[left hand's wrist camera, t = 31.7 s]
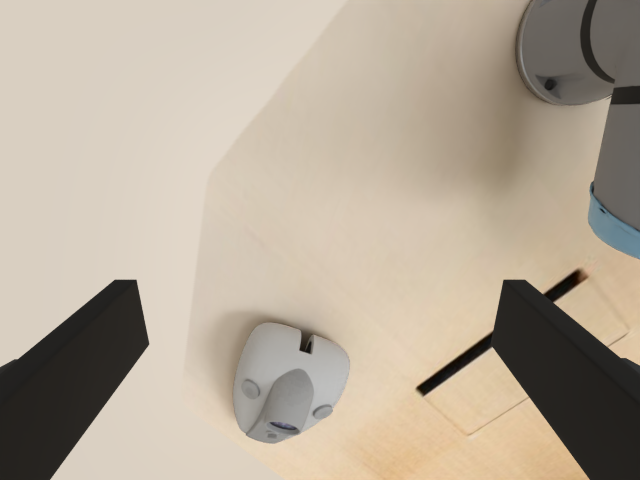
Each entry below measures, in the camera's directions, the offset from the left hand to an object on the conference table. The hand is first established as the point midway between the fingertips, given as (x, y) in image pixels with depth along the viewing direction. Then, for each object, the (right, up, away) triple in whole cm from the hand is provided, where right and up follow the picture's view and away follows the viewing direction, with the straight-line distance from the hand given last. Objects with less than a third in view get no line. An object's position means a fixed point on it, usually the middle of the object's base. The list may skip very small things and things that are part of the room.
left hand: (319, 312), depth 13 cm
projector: (-6, -20, +47) cm, 51 cm away
